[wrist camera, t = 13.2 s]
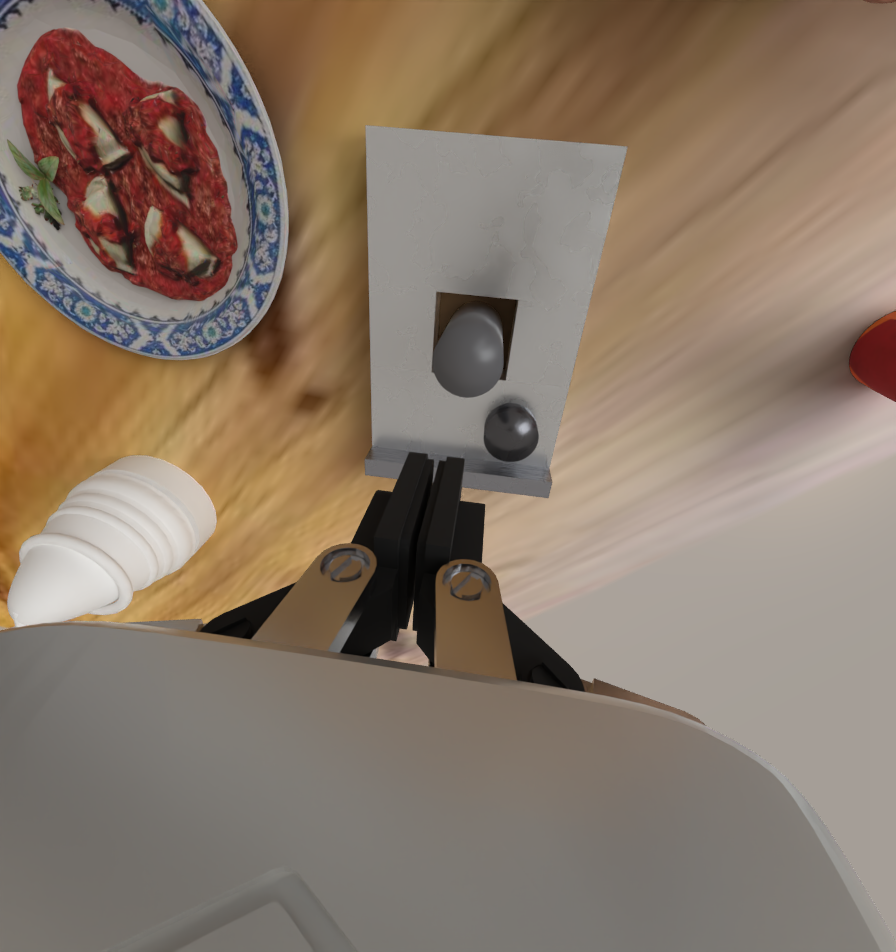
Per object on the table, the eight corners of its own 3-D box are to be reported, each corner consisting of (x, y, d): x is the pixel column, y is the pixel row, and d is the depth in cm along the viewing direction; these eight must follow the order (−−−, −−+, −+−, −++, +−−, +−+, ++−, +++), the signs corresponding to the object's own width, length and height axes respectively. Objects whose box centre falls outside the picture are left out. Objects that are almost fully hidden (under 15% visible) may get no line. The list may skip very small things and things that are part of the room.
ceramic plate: (312, -6, 25) (291, -33, 22) (291, 387, 38) (276, 398, 36) (-117, -146, 24) (-191, -191, 21) (16, 308, 37) (-19, 314, 35)
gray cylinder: (451, 298, 33) (434, 322, 24) (506, 304, 32) (508, 330, 24) (447, 353, 35) (430, 393, 26) (498, 359, 35) (498, 401, 26)
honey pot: (214, 559, 51) (92, 698, 36) (111, 524, 50) (-60, 653, 35) (219, 479, 45) (73, 610, 29) (101, 437, 43) (-115, 550, 28)
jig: (378, 135, 28) (353, 115, 23) (615, 154, 27) (639, 138, 22) (380, 447, 40) (365, 474, 36) (542, 466, 39) (548, 498, 35)
